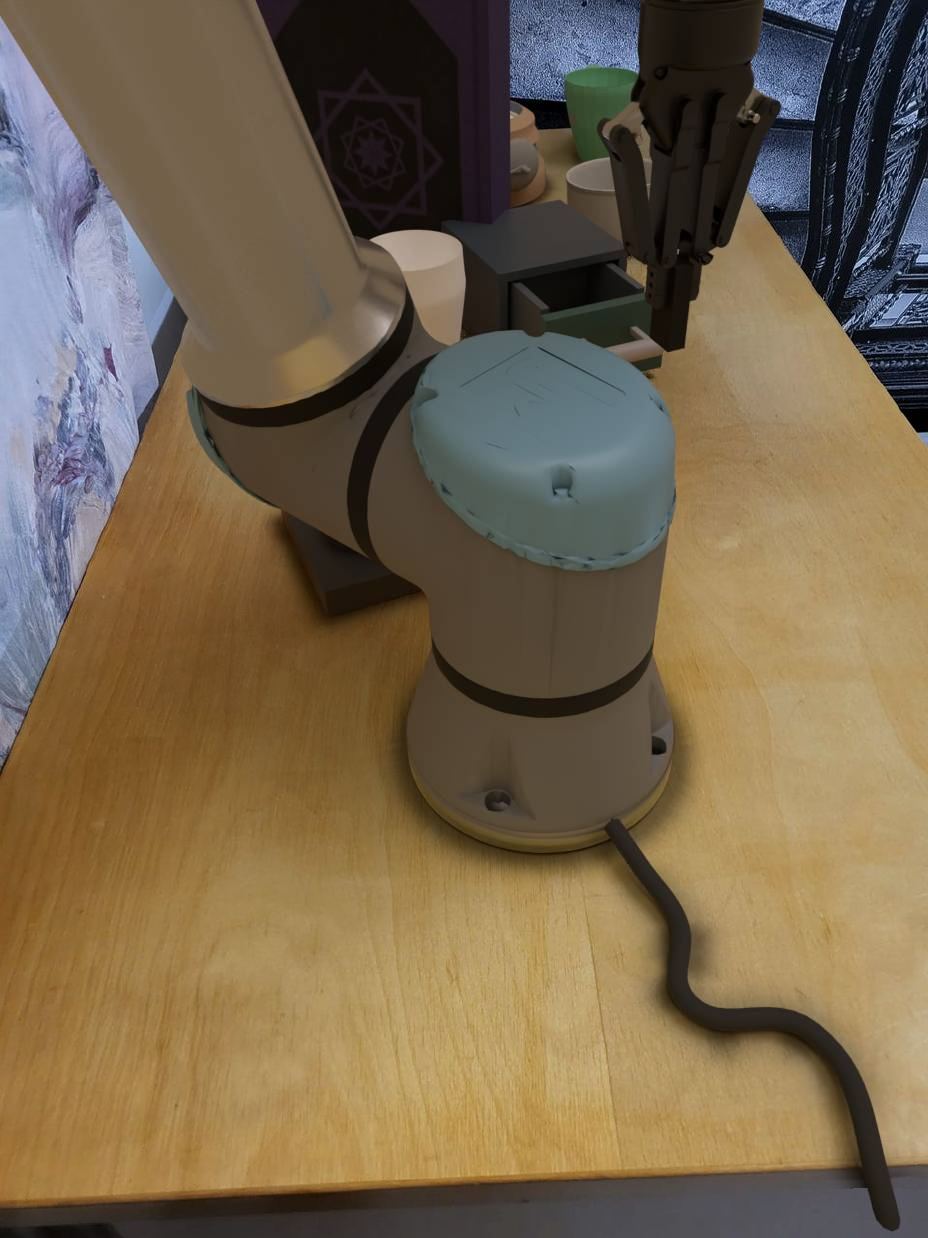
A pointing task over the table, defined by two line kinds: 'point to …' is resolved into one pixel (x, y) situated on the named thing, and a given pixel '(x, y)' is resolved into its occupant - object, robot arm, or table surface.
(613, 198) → the teacup
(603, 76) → the green tumbler
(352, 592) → the dark flat panel
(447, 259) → the cup
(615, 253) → the cabinet
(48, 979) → the table surface
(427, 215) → the book
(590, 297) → the drawer
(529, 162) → the alarm clock
